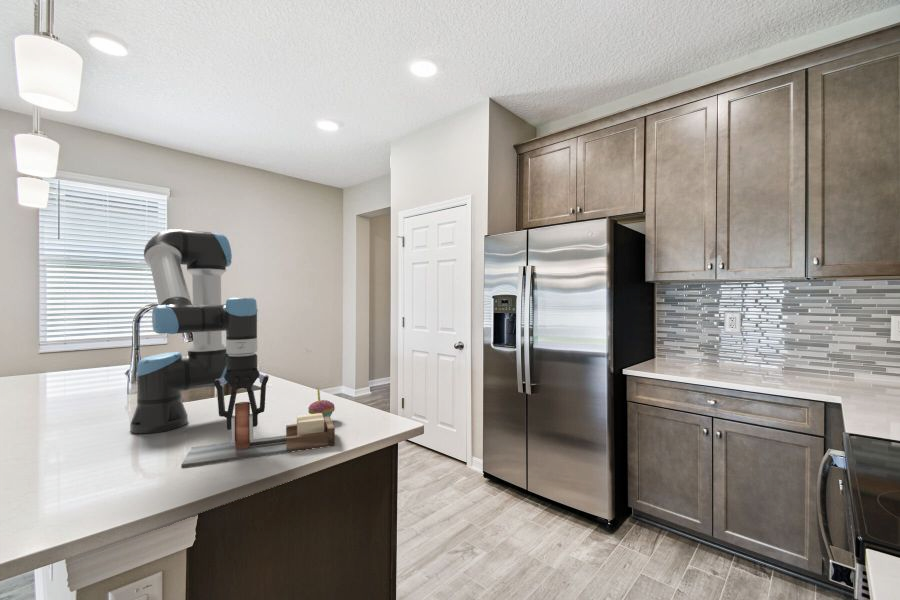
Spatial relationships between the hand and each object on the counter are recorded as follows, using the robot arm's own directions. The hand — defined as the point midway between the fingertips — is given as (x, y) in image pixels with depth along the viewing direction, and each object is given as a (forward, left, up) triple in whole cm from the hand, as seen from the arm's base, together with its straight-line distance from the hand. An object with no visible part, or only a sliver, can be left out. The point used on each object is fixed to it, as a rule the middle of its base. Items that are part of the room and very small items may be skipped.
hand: (242, 439), depth 109 cm
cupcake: (-18, +22, -3) cm, 29 cm away
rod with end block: (0, +10, -2) cm, 10 cm away
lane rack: (0, +5, -3) cm, 6 cm away
